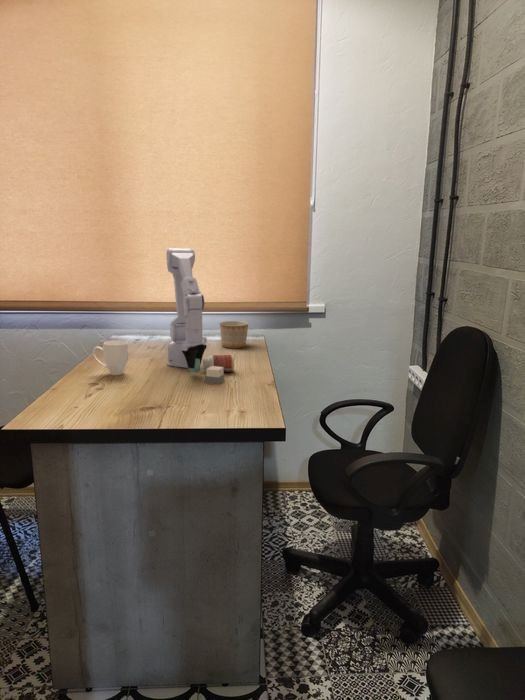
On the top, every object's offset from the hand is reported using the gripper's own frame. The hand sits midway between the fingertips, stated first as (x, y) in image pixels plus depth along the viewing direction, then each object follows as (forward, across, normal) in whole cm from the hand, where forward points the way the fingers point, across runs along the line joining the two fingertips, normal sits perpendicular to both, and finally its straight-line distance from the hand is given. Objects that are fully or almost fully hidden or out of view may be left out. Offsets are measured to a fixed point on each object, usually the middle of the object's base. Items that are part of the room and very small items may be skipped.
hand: (194, 366), depth 177 cm
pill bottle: (+1, +12, -10) cm, 16 cm away
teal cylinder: (+2, 0, 0) cm, 2 cm away
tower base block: (+4, -2, -9) cm, 10 cm away
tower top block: (+1, -2, -9) cm, 10 cm away
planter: (+4, +50, +8) cm, 51 cm away
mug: (+4, -10, +28) cm, 30 cm away
